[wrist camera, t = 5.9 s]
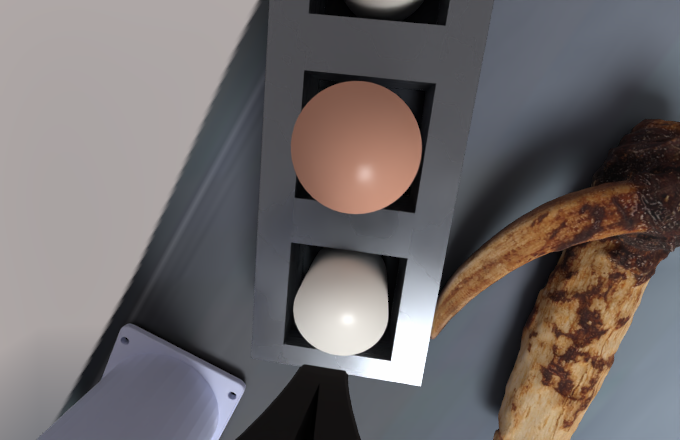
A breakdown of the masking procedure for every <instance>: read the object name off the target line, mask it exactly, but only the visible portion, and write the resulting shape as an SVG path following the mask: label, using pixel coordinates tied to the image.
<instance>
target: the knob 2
mask: <svg viewBox="0 0 680 440" xmlns="http://www.w3.org/2000/svg"><path fill="white" fill-rule="evenodd" d="M344 1H345V3H346V5H347V6H348V8H349V9H350V10H351V11H352V12H353V13H354V14H355V15H356V16H357V17H359V18H364V19H376V20H387V21H398V22H400V21H402V20H404V19H406V18H407V17H409V16H410V15H412V14H413V13H414V12H415V11H416V10H417V9H418V8H419V7H420V5H421V4H422V3H423V1H424V0H344Z"/></svg>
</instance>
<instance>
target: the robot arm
mask: <svg viewBox="0 0 680 440" xmlns="http://www.w3.org/2000/svg"><path fill="white" fill-rule="evenodd" d="M125 337H126V338H128V340H129V341H128V340H126V338H125ZM245 388H246V386H245V383H244V382H243V381H242V380H241V379H239V378H237V377H235V376H233V375H231V374H229V373H227V372H225V371H223V370H221V369H219V368H218V367H216V366H214V365H212V364H210V363H208V362H206V361H204V360H202V359H200V358H198V357H196V356H194V355H192V354H190V353H188V352H186V351H184V350H182V349H181V348H179V347H177V346H175V345H173V344H171V343H169V342H167V341H165V340H163V339H161V338H159V337H157V336H155V335H153V334H151V333H149V332H147V331H145V330H143V329H142V328H140V327H138V326H136V325H134V324H126V325H125V326H123V327H122V328H121V330H120V332H119V334H118V337H117V340H116V342H115V345H114V347H113V350H112V353H111V355H110V358H109V360H108V363H107V366H106V368H105V371H104V373H103V376H102V379H101V380H100V381H99V382H98V383H97V384H96V385H95V386H94V387H93V388H92V389H91V390H90V391H88V392H87V393H86V394H85V395H84V396H83V397H82V398H81V399H80V400H79V401H78V402H76V403H75V404H74V405H73V406H72V407H71V408H70V409H69V410H68V411H67V412H66V413H64V414H63V415H62V416H61V417H60V418H59V419H58V420H57V421H56V422H55V423H54V424H52V425H51V426H50V427H49V428H48V429H47V430H46V431H45V432H44V433H43V434H42V435H40V436H39V437H38V438H37V439H36V440H219V438H220V436H221V434H222V432H223V430H224V428H225V427H226V425H227V423H228V421H229V419H230V417H231V415H232V413H233V411H234V410H235V408H236V406H237V404H238V402H239V400H240V398H241V396H242V394H243V392H244V391H245ZM231 392H234V393H235V394H236V395H233V394H232V393H231ZM236 440H361V439H360V436H359V433H358V429H357V425H356V422H355V418H354V414H353V410H352V405H351V400H350V395H349V387H348V374H347V373H346V371H344V370H338V369H332V368H325V367H319V366H313V365H307V364H304V365H302V366H301V367H300V368H299V369H298V371H297V372H296V374H295V375H294V376H293V378H292V379H291V381H290V382H289V383H288V384H287V386H286V387H285V388H284V389H283V391H282V392H281V393H280V394H279V395H278V396H277V398H276V399H275V400H274V401H273V402H272V403H271V404H270V406H269V407H268V408H267V409H266V410H265V411H264V412H263V413H262V414H261V415H260V416H259V417H258V418H257V419H256V420H255V421H254V422H253V423H252V424H251V425H250V426H249V427H248V428H247V429H246V430H245V431H244V432H243V433H242V434H241V435H240V436H239V437H238V438H237V439H236Z"/></svg>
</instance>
